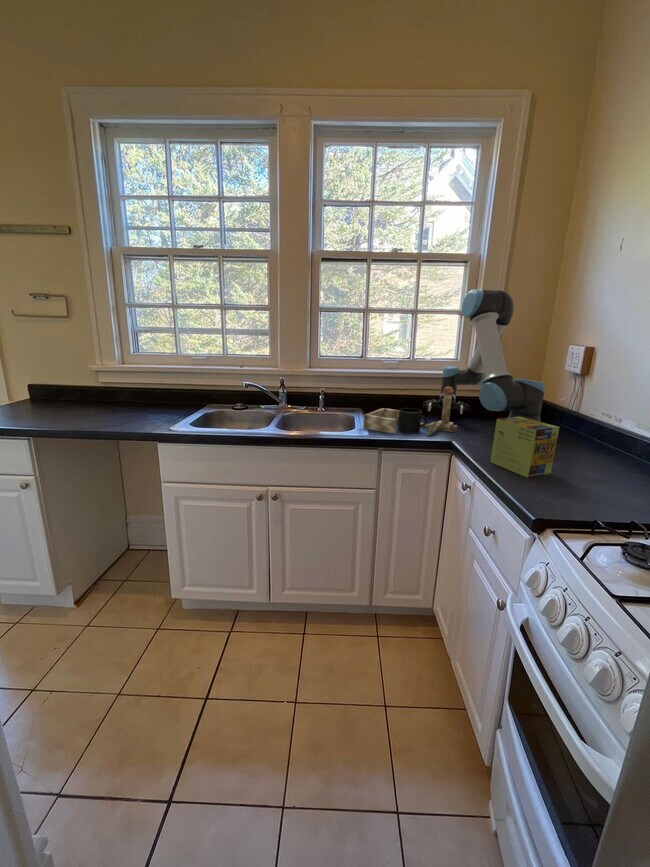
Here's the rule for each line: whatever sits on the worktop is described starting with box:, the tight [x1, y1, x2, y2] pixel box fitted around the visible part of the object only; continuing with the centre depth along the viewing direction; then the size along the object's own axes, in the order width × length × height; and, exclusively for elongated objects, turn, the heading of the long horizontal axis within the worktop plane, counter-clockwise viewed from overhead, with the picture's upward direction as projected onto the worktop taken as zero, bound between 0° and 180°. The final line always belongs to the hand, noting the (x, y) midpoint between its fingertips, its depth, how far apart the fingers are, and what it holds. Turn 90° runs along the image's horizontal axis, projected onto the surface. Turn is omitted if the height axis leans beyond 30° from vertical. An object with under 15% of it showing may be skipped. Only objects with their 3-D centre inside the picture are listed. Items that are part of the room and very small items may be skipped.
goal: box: [362, 407, 399, 435], centre depth 176 cm, size 15×19×6 cm
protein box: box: [490, 416, 561, 479], centre depth 127 cm, size 10×15×16 cm
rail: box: [420, 422, 459, 433], centre depth 178 cm, size 26×4×2 cm, turn 57°
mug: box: [397, 407, 428, 434], centre depth 170 cm, size 9×12×9 cm
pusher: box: [425, 386, 454, 436], centre depth 167 cm, size 6×16×19 cm, turn 147°
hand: (445, 409), depth 173 cm, fingers open, 13 cm apart
